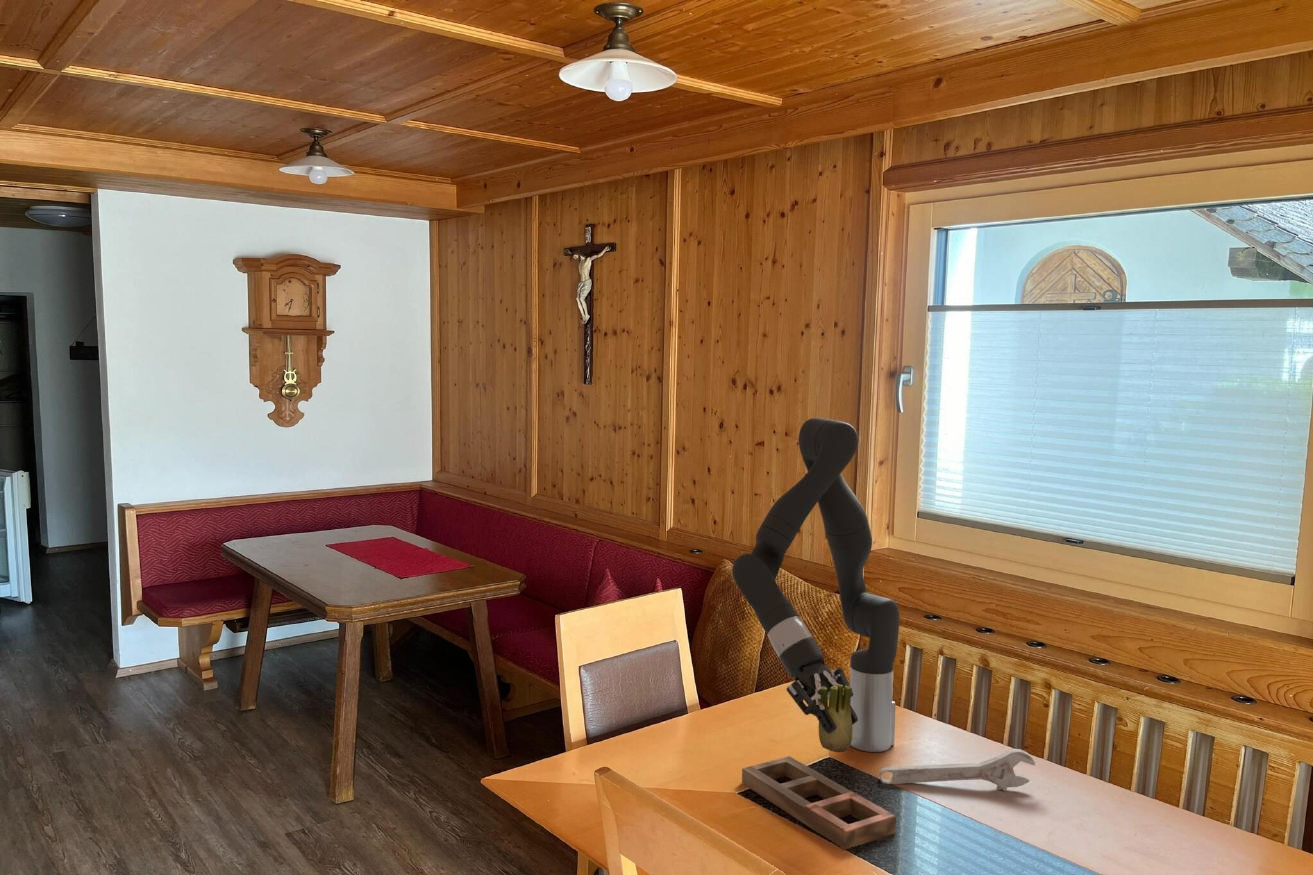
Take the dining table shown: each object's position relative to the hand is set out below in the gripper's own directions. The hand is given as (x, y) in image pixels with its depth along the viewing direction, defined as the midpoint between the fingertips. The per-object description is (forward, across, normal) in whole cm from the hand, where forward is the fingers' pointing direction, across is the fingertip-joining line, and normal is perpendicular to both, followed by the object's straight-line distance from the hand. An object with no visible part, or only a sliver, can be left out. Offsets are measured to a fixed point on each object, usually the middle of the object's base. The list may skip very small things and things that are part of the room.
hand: (843, 726), depth 171 cm
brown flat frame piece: (+8, +1, +18) cm, 19 cm away
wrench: (+16, +30, +10) cm, 36 cm away
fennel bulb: (+2, 0, +5) cm, 5 cm away
